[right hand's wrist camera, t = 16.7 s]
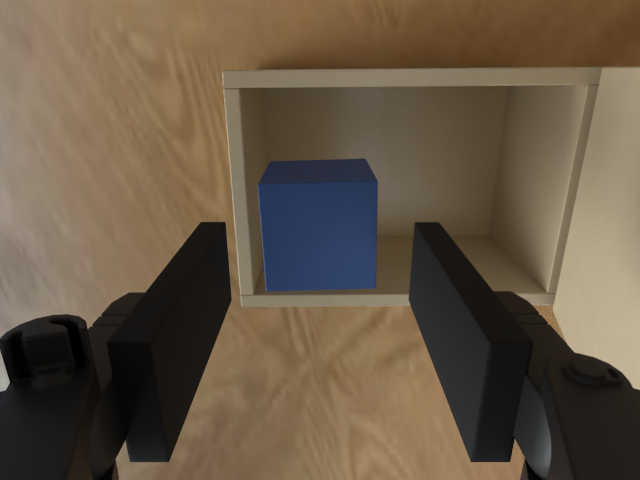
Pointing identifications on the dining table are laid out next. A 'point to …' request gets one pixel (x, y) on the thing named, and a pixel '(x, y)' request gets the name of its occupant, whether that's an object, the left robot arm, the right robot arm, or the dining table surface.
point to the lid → (606, 233)
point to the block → (319, 224)
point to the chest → (421, 165)
